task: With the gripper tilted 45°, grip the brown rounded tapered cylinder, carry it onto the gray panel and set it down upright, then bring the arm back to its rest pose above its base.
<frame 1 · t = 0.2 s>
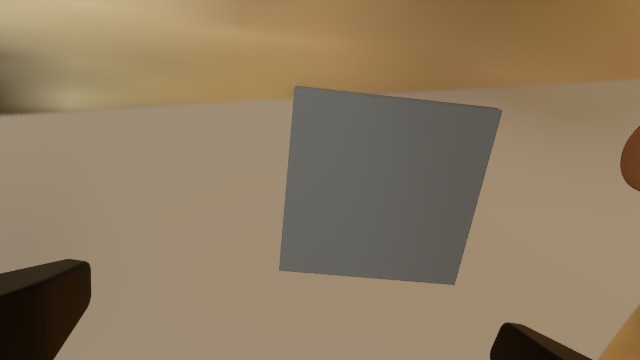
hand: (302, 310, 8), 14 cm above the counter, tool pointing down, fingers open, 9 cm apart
gray panel: (380, 190, 23), on the counter
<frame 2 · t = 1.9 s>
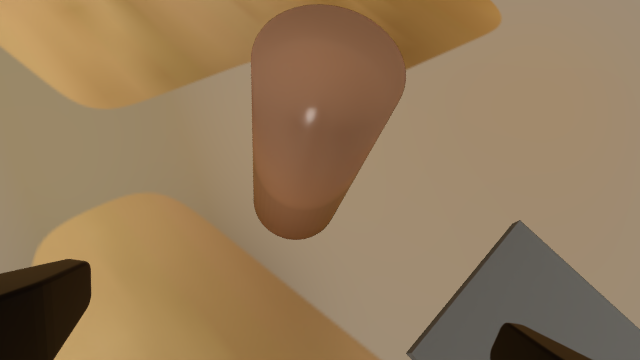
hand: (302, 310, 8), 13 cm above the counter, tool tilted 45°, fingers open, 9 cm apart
gray panel: (537, 355, 22), on the counter
brown rounded tapered cylinder: (295, 199, 24), on the counter
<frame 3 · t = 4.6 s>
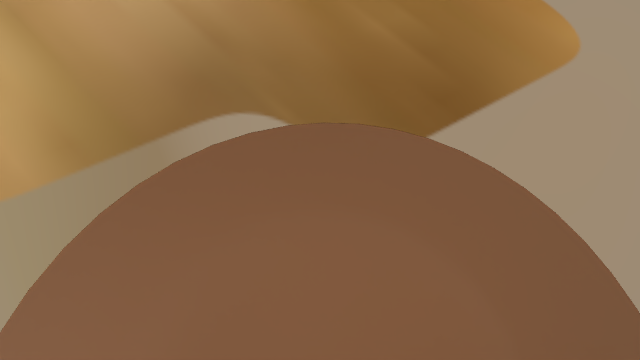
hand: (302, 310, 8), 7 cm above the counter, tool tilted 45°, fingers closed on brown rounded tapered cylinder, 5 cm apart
when the fingers open (9 cm above the counter, at t = 8.6 s): brown rounded tapered cylinder drops 1 cm, resting on gray panel.
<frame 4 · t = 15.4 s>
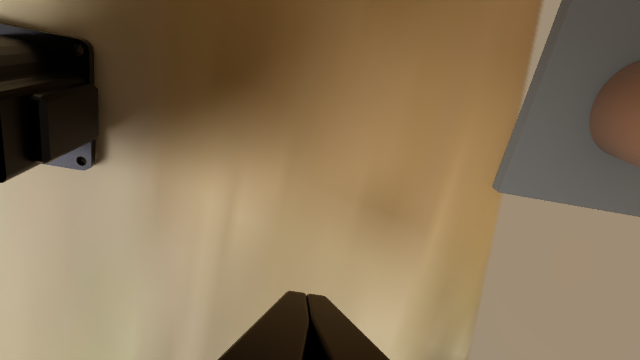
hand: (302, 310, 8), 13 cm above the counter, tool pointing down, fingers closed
gray panel: (629, 107, 20), on the counter
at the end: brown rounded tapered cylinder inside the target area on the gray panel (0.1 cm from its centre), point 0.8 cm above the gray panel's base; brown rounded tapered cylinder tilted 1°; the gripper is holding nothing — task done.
